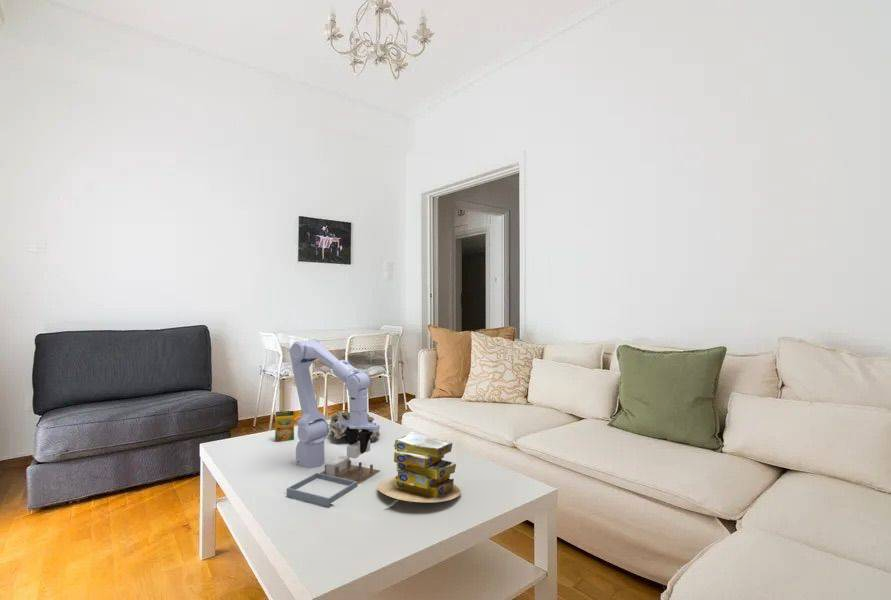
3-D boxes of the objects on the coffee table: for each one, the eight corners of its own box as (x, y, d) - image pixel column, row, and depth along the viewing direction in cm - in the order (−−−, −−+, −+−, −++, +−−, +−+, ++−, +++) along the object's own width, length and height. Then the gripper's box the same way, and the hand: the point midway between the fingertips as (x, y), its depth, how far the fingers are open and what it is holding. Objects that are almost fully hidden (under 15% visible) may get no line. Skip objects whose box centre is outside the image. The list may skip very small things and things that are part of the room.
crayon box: (275, 442, 183) (274, 413, 183) (275, 439, 186) (274, 411, 186) (294, 439, 186) (294, 411, 186) (293, 437, 188) (293, 410, 188)
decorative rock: (324, 445, 176) (324, 419, 178) (330, 434, 202) (330, 411, 203) (380, 442, 180) (380, 417, 181) (379, 431, 205) (379, 409, 207)
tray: (286, 496, 134) (286, 488, 134) (316, 480, 145) (316, 472, 145) (328, 507, 127) (328, 498, 127) (357, 489, 138) (357, 481, 138)
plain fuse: (326, 473, 148) (326, 463, 148) (341, 465, 155) (341, 455, 155) (334, 475, 147) (334, 465, 147) (349, 467, 154) (349, 457, 154)
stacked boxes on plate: (415, 471, 153) (415, 422, 153) (476, 490, 137) (476, 436, 137) (360, 497, 133) (359, 441, 133) (423, 523, 118) (423, 460, 118)
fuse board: (316, 477, 147) (316, 466, 147) (340, 465, 158) (340, 455, 158) (358, 487, 140) (358, 475, 140) (380, 473, 151) (380, 462, 151)
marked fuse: (346, 456, 144) (346, 446, 144) (361, 448, 151) (361, 438, 151) (355, 458, 142) (355, 447, 142) (370, 450, 150) (370, 440, 149)
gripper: (332, 410, 146) (333, 451, 146) (369, 415, 140) (370, 458, 140) (346, 405, 152) (346, 445, 153) (382, 410, 146) (382, 451, 146)
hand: (358, 451), depth 147 cm, fingers closed on marked fuse, 3 cm apart
